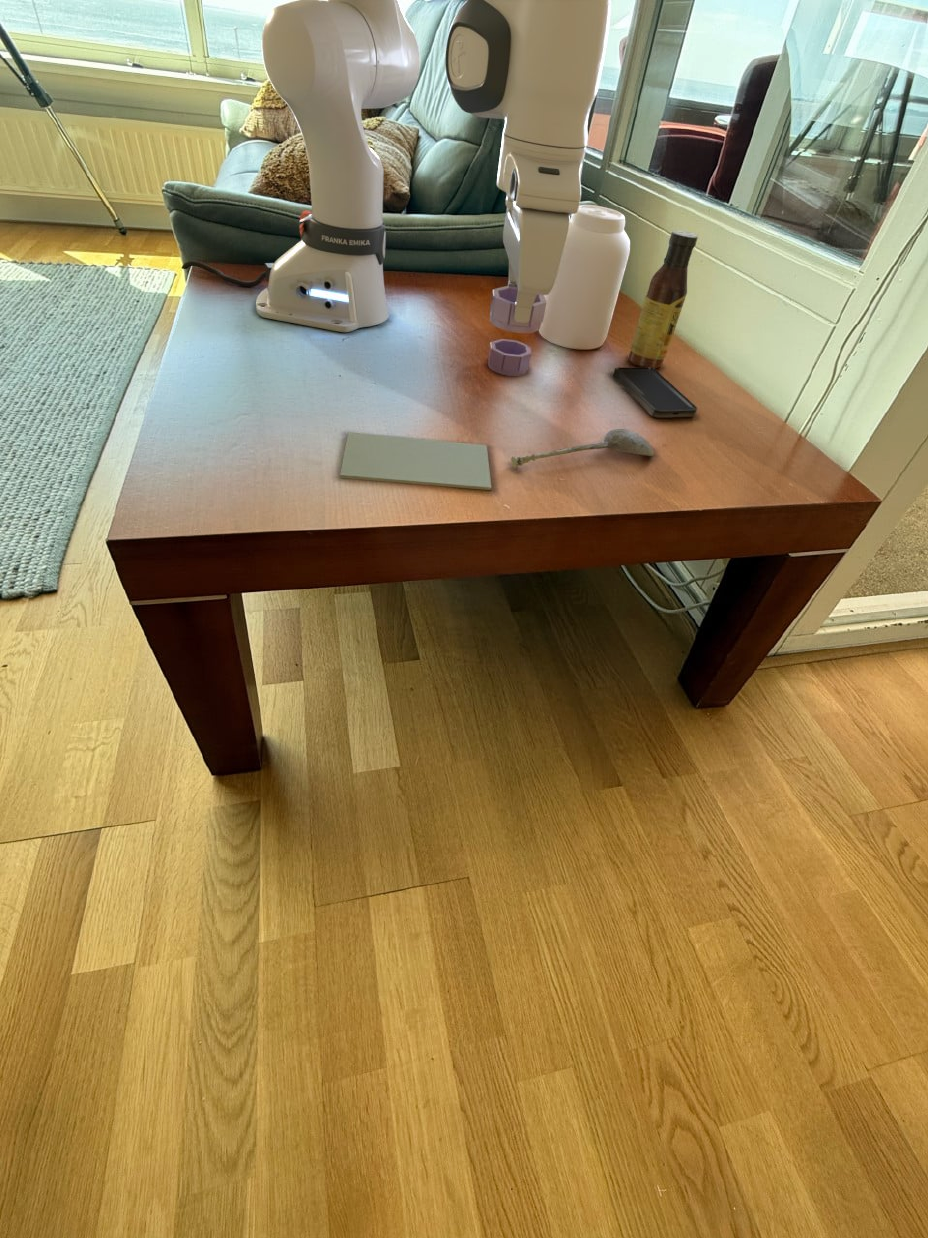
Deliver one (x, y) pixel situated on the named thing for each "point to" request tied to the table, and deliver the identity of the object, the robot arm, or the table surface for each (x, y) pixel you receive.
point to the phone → (654, 392)
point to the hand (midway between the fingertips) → (517, 308)
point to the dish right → (504, 311)
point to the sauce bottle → (663, 303)
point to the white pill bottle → (587, 279)
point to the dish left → (509, 357)
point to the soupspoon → (600, 446)
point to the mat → (416, 461)
